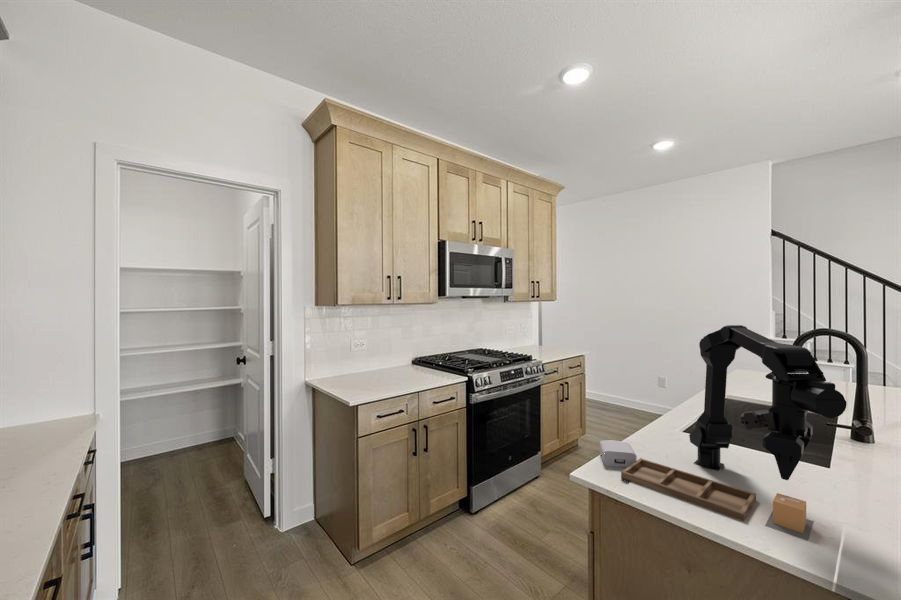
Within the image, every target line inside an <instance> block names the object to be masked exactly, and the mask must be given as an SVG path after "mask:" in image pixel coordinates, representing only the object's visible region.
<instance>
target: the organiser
mask: <svg viewBox="0 0 901 600" xmlns="http://www.w3.org/2000/svg"><path fill="white" fill-rule="evenodd" d="M620 473H621V474H620V477H621V479H622V480H621V479H620V480H621V481H624V480H625V481H624V482H627V481H628V483H629V482H630V483H632V482H633V483H635V484H638V485H640V486H644V487H647V488H648V489H649V488H650V489H653V490H655V491H657V492H660V493H663V494H667V495H669V496H672V497H675V498H678V499H680V500H683V501H685V502H689V503H691V504H694V505H697V506H699V507H702V508H705V509H709V510H711V511H714V512H717V513H719V514H722V515H725V516H728V517H731V518H733V519H736V520H739V521H742V522H744V521H745V519H746V518H747V516H748V514H749V513H750V511H751V510H752V508H753V506H754V505H755V503H756V501H757V493H755V492H751V491H748V490H745V489H741V488H738V487H736V486H732V485H728V484H725V483H722V482H719V481H716V480H712V479H708V478H706V477H702V476H699V475H695V474H693V473H690V472H686V471H684V470H680V469H677V468H674V467H670V466H666V465H663V464H660V463H657V462H654V461H651V460H647V459H645V458H639V459H637V461H636V462H635V463H633V464H632V465H630V466H629V467H627V468H626V467H625V468H624V469H623V470H621V472H620Z"/></svg>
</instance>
